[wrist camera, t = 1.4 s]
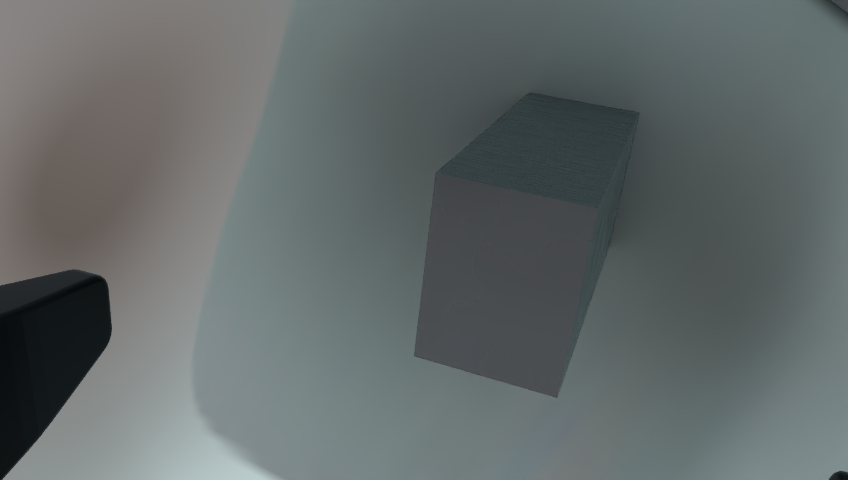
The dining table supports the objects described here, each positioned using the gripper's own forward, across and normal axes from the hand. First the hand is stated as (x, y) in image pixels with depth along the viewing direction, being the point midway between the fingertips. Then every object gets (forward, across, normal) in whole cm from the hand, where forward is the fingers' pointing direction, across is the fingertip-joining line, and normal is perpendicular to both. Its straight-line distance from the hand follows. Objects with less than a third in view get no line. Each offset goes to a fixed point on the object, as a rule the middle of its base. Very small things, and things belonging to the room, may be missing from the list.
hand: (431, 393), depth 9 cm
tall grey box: (+13, -1, +2) cm, 13 cm away
